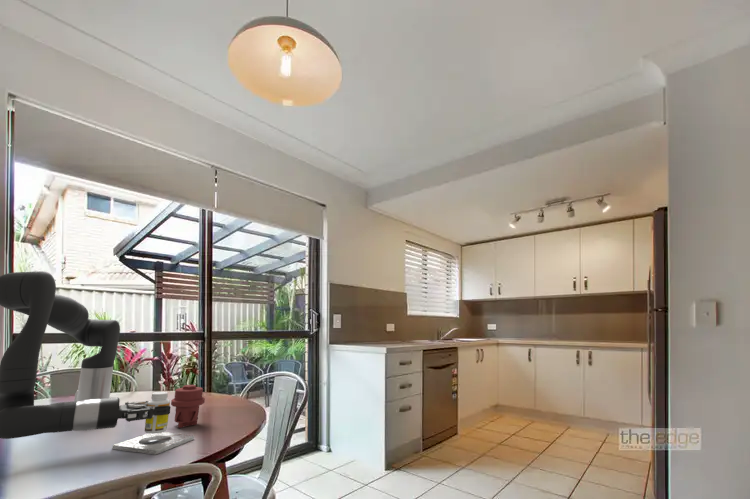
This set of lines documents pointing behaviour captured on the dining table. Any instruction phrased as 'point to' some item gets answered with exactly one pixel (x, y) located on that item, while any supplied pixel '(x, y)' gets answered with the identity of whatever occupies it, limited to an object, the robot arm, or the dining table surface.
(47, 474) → the dining table surface
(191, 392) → the mechanical component
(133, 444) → the seat plate
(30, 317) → the robot arm
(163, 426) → the supplement bottle
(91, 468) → the dining table surface
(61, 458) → the dining table surface
